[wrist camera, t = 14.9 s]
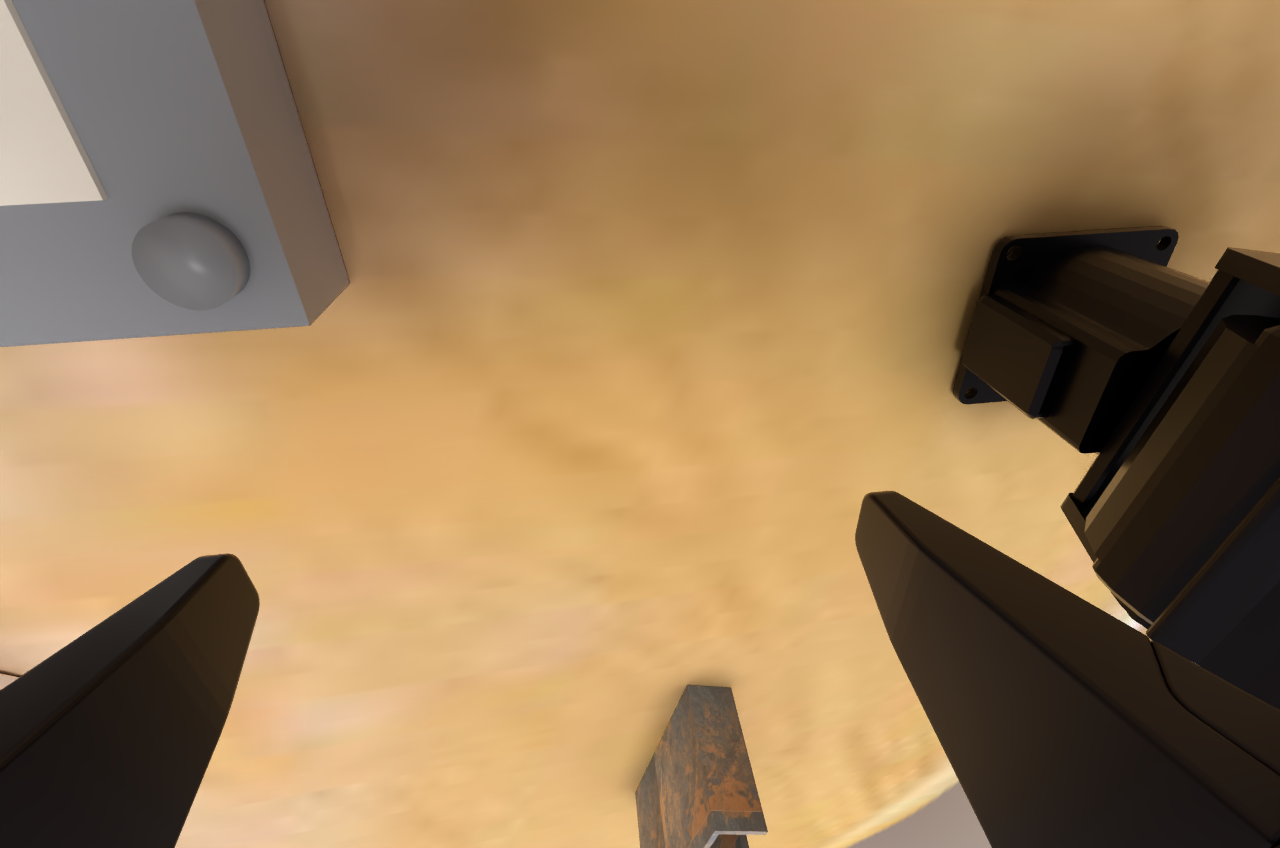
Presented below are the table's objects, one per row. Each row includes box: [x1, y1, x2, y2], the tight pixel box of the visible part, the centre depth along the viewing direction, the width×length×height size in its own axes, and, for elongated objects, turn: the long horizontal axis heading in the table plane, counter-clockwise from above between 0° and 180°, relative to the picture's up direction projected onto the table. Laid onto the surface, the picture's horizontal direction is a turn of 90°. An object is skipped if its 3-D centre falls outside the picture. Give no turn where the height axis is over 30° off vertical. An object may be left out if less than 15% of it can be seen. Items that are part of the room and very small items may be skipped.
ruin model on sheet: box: [635, 685, 768, 848], centre depth 32 cm, size 11×3×10 cm, turn 165°
